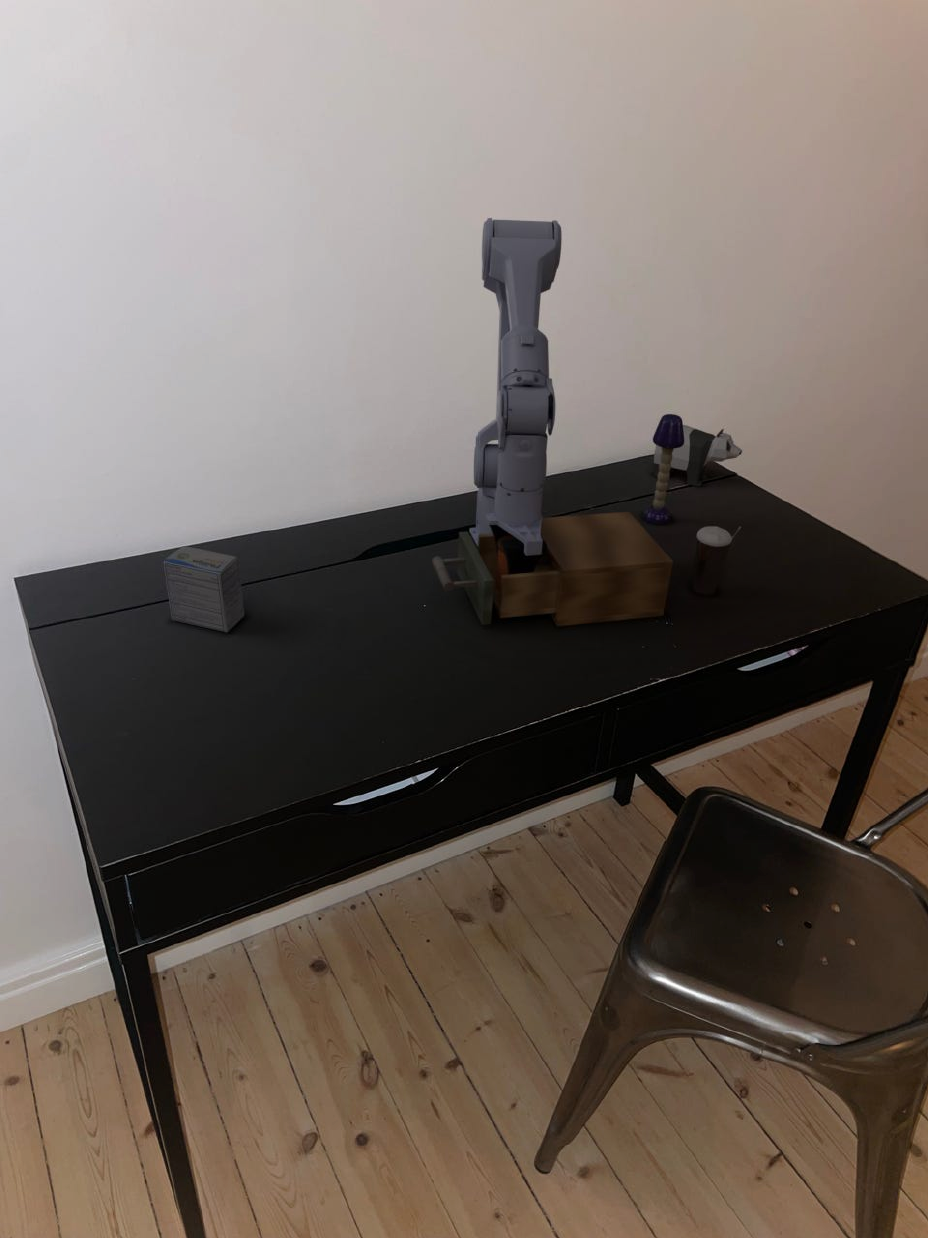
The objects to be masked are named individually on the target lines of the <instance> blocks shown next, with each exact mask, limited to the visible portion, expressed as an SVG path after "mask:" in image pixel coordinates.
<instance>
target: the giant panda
mask: <svg viewBox="0 0 928 1238" xmlns="http://www.w3.org/2000/svg"><path fill="white" fill-rule="evenodd" d="M724 430H725V428H722V429H720V430H719V432H718V433H717V434H716V435H715V434H713V433H710V432H706V431H703V430H700V429H698V428H696V427H692V426H690V425H687V424H683V431H684V444H683V446H681V447H680V448H674V450H673V452H672V461H671V462H670V463H671V469H670V471H669V473H674V472H675V469H677V470H681V471H686V476H687V477H686V478H687V480H686V484H687V485H689V486H693V487H694V486H695V487H698V488H700V487H702V485H703V482H702V481H701V480H704V481H705V480H708V474H706V468H707V465H708V463H709V462H719V463H722V462H724V461H726V460H731V459H736V458H738V457H739V456H741V455H742V453H743V450H742V449H741V448H740V447H739V446H737V445H736V444H735V443H734V440H733V438H732V435H731V434H729V433H726V432H724ZM653 454H654V455H653V476H655V477H657V478H658V473H659V471H660V470H659V465H660V462H661V459H660V457H661V454H662V447H659V446H658V445H656V444H655V449H654V453H653Z"/></svg>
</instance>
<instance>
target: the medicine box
mask: <svg viewBox="0 0 928 1238" xmlns="http://www.w3.org/2000/svg"><path fill="white" fill-rule="evenodd" d="M162 562H163V568H164V575H165V582H166V588H167V597H168V601H169V608H170V615H171V620H172V621H175V622H179V623H183V624H184V623H185V624H189V625H193V626H197V627H201V628H206V629H210V630H215V631H218V632H223V633H228V632H230V630H231V629H233V628H234V627H235V626H236V625H237V623H239V622H240V621H241V619H243V618H244V617H245V608H244V599H243V590H242V582H241V574H240V565H239V564H240V563H239V558H238V557H237V556H235V555H229V554H225V553H220V552H215V551H209V550H206V549H200V548H195V547H191V546H186V545H183V546H181V547H179V549H177V550H175V551H174V552H173V553H171V554H170V555H169V556H167V557H166V558H165V559H164V560H163V561H162Z"/></svg>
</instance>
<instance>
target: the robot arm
mask: <svg viewBox="0 0 928 1238" xmlns="http://www.w3.org/2000/svg"><path fill="white" fill-rule="evenodd" d="M562 238H563V237H562V226H561V224H560V223H559V221H558V220H552V221H545V220H542V221H541V220H520V219H519V220H517V219H493V218H492V217H487V219H486V220H485V221H484V222H483V226H482V237H481V280H482V281H483V288H485V289H486V290H488V291H490V292H491V293H494V294H495V298H496V303H497V306H498V311H499V314H498V342H497V343H498V345H497V375H496V376H497V377H496V380H497V381H496V403H495V404H496V405H495V406H496V407H495V408H496V409H495V418H494V419H493V420H492V421H491V422H489V423H487V425H485V426H483V427H481V429H480V430H478V432H477V435H476V436H475V446H474V451H473V453H474V454H473V485H474V486H475V487H476V488H477V493H476V494H477V495H476V514H475V527H469V529H468V533H469V535H470V537H471V539H472V540H473V542H474V544H475V546H476V548H478V536H479V534H490V533H493V536H494V540H495V545H496V551H497V558H498V547H497V546H498V540H499V539H500V538H501V537H503V536H507V535H513V536H514V537H516V539H508V540H500V543H501V545H502V547H503V550H504V552H505V555H506V559H507V565H508V575H510V574H521V573H533V571H534V568H535V566H536V564H537V562H538V561H539V559H540V558H541V556H542V555H543V554H544V553H545V552H546V550H547V544H546V542H545V541H544V539H543V540H542V538H541V524H542V518H543V515H542V507H543V506H542V505H543V496H544V495H543V494H544V486H545V484H546V479H547V471H548V470H547V468H548V455H547V450H548V440H549V439H548V436H550V437H551V436H552V433H553V430H554V426H555V419H556V396H555V389H554V385H553V378H551V377H550V360H549V359H550V355H549V354H550V353H549V339H548V337H547V335H546V334H545V333H544V332H542V331H541V330H540V329H539V324H540V311H541V296H542V294H543V293H546V292H547V291H549V290H551V288H552V284H553V283H554V281H555V278H556V274H557V270H558V269H559V266H560V261H561V255H562V242H563V241H562ZM547 433H548V434H547ZM492 441H497V443H491V442H492Z"/></svg>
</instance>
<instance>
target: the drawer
mask: <svg viewBox="0 0 928 1238" xmlns="http://www.w3.org/2000/svg"><path fill="white" fill-rule="evenodd" d="M457 548H458V551H457V557H455V558H442V557H441V556H438V555H437V556H434V557H432V559H431V563H432V566H433V569H434V571H435V573H436V575H437V577H438V579H439V583H440V584H441V586H442V589H443V591H444V592H446V593H451V592H453V591H454V590H455V589H457V588H464V590H465V592H466V594H467V596H468V599H469V600H470V603H471V605H472V607H473V609H474V611H475V613H476V615H477V617H478V620H479V621H480V624H481V625H482V626H487V625H491V624H492V617H493V608H494V609H495V611H496V613H497V615H498V617H499V619H507V618H516V617H527V616H538V615H539V616H540V615H547V614H549V613H556V611H557V602H558V592H559V583H560V574H561V573H560V572H559V570H558V568H557V567H556V565H555V564H554V562H553V561H552V559H551V558H550V556H549V555H548V553H547V552H545V553H544V554H543V555H542V556H541V558H540V559H539V561H538V562H537V564H536V566H535V568H534V571H533V573H521V574H510V575H501V586H500V592H499V591H498V590H497V589H496V573H497V551H496V545H495V540H494V536H493V533H490V534H479V536H478V547H477V545H476V543H475V541H474V539H473V538H472V536H471V534H470V532H469V530H468V531H467V530H466V531H459V532H458V547H457ZM450 565H457V575H458V577H459V579H460V581H453V579H452V577H451V575H450V573H449V571H448V568H447V566H450ZM549 615H550V614H549Z"/></svg>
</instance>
